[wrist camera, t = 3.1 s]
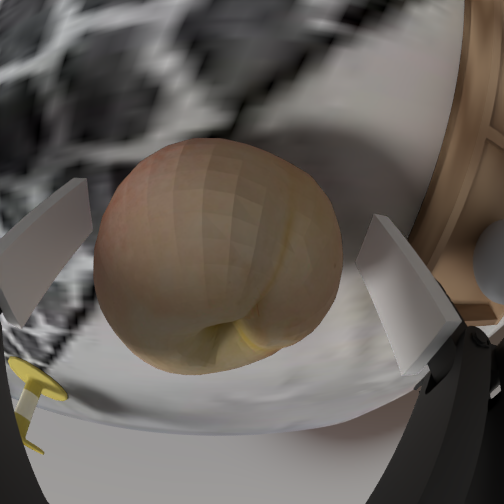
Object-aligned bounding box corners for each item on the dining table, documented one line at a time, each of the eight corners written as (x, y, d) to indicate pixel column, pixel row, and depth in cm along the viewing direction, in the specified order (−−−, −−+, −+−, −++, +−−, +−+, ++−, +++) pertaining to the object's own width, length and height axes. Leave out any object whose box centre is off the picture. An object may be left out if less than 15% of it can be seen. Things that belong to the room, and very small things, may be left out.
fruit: (245, 295, 16) (241, 429, 9) (120, 222, 13) (42, 343, 7) (346, 193, 13) (428, 320, 6) (204, 84, 10) (117, 92, 3)
